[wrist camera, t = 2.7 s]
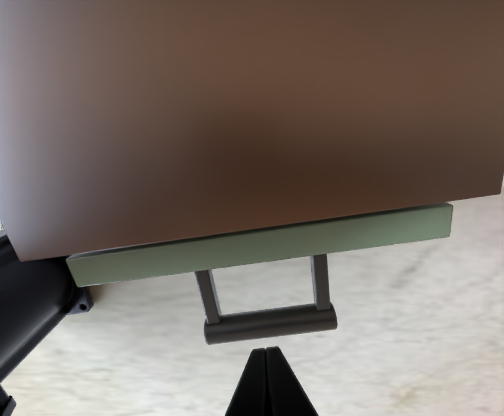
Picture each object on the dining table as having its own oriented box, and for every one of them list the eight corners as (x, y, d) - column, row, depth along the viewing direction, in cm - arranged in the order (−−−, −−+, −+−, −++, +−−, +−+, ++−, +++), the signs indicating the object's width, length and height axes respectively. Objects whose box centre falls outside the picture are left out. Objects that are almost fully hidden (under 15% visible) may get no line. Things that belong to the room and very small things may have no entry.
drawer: (366, 259, 17) (439, 345, 10) (167, 286, 17) (117, 383, 11) (363, -81, 11) (513, -358, 5) (74, -26, 12) (-138, -206, 5)
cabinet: (369, 157, 15) (501, 194, 7) (137, 192, 16) (19, 262, 8) (367, -150, 11) (676, -880, 3) (52, -86, 12) (-385, -551, 4)
